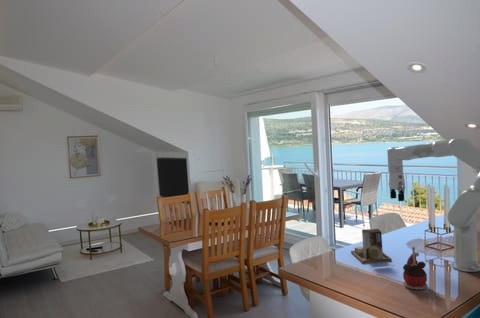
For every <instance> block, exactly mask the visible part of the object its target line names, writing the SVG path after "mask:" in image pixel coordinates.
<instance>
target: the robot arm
mask: <svg viewBox="0 0 480 318" xmlns="http://www.w3.org/2000/svg"><path fill="white" fill-rule="evenodd" d="M386 151H387V169H388V173H389V175H388V186H389V192H390V193H389V194H390V195H389V196H390V199H392V200H393V199H397V201H398V202H405V191H406V190H405V189H406V182H405V175H404V164H403V163H404V162H403V161H411V160H416V159H425V158H445V157H452V156H454V157H455V158H456V159H458V160H459V161H461V162H463V163H465V164H466V165H468V166H470V167H471V168H473V169H475V170H479V171H480V149H479V148H477V147H476V146H474V145H473V142H472V140H471V139H469V137H464V136H461V137H454V138H448V139H441V140H434V141H431V142H428V143H421V144H413V145H408V146H407V145H406V146H402V147H401V146H391V147H388V148H387V149H386ZM397 193H398V194H397ZM479 209H480V172H479V173H478V174H477V176H476V177H475V178H474V181H473V182H472V184H470V186H469V187H468V188H466V189H464V190H463V191H462V192H461V193H460V194H459V195H458V197H457V199H456V200H455V202H454V203H453V205H452V206H451V208H450V209H449V211H448V212H447V217H446V218H447V221H448V224H449V225H451V226H452V227H453V243H454V245H453V246H454V260H455V261H453V262H452V263H451V267H452V269H455V270H456V271H461V272H467V273H477V272H480V264H479V261H478V247H477V246H478V243H477V219H478V217H477V216H478V215H477V212H478V210H479Z"/></svg>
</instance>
